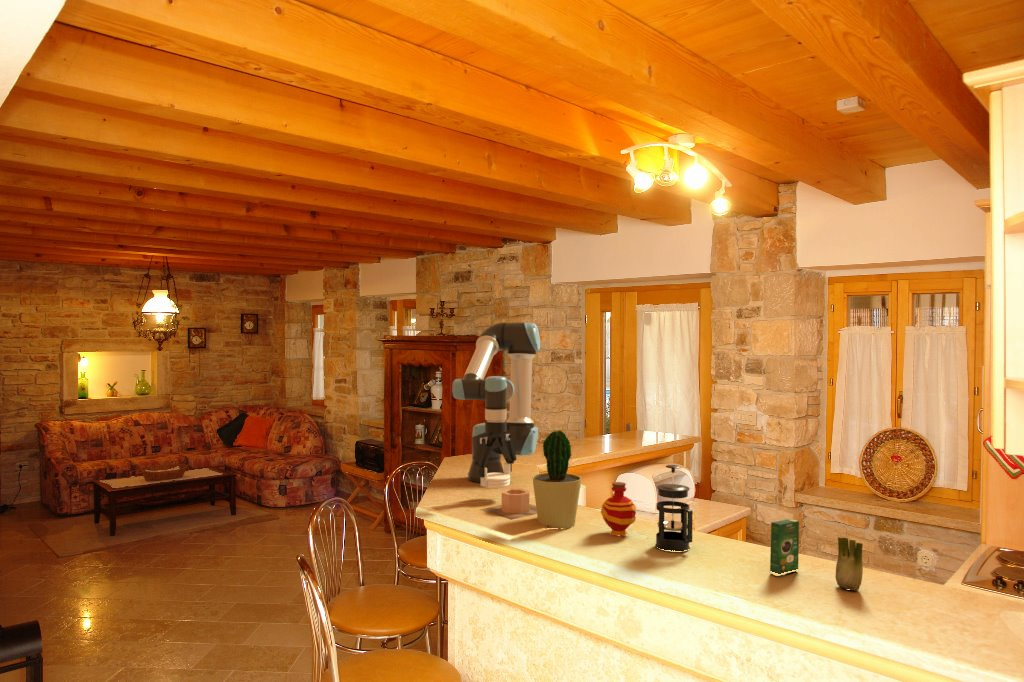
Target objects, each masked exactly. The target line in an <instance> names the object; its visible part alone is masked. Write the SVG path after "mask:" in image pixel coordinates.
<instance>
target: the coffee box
mask: <svg viewBox="0 0 1024 682" xmlns="http://www.w3.org/2000/svg"><path fill="white" fill-rule="evenodd" d="M799 540H800V521H799V520H797V519H793V518H787V519H782V520H777V521H776V520H775V521H771V522H770V561H769V562H770V563H769V564H770V565H769V572H770V571H772V572H775V573H778V574H781V573H784V572H788V571H792V570H796V569H798V570H799V552H800V550H799V545H800V544H799V542H800V541H799Z"/></svg>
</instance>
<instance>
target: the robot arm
mask: <svg viewBox="0 0 1024 682" xmlns="http://www.w3.org/2000/svg"><path fill="white" fill-rule="evenodd" d="M540 350H541V338H540V331H539V328H538V326H537V324H536V323H534V322H524V321H523V322H498V323H495V324H492V325H490V326H488V327H487V328H486V329H484V331H482V332H481V333H480V335H479V336H478V338H477V339H476V342H475V349H474V353H473V354H472V357H471V359H470V361H469V364H468V366H467V368H466V370H465V373H464V374H463V377H462V378H455V379H454V380H453V382H452V386H451V391H452V396H453V398H454V399H457V400H463V401H465V400H466V401H469V400H470V401H474V400H475V401H484V402H485V403H484V404H485V405H484V417H485V418H484V419H485V420H486V421H484V422H483V423H482V422H481V423H477V424H475V425H474V426H473V427H472V435H471V438H472V439H471V440H472V442H471V443H472V444H471V445H472V446H471V448H472V449H471V457H472V459H471V464H470V466H469V467H470V468H469V470H468V473H467V481H469V480H470V482H472V481H474V482H473V483H479V482H480V486H481V487H483V488H487V473H505V474H508V475H509V476H510V483H511V478H512V477H511V473H512V471H513V470H512V469H513V468H512V467H513V465H512V464H514V463H515V461H517V456H522V457H523V456H532V455H533V454H534V453H535V451H536V448H537V445H538V444H537V443H538V439H539V438H538V437H539V428H538V426H535V421H534V420H533V419H532V418H531V417H532V416H531V410H532V383H533V382H532V381H533V380H532V378H533V377H532V375H533V373H532V372H533V359H534V358H535V357H537V352H539V351H540ZM500 351H504V352H505V351H507V356H508V357H509V358H510V363H511V364H510V380H509V379H507V378H506V377H505V376H503V375H502V376H501V375H497V376H496V375H495V376H494V375H493V376H487V377H486V374H487V373H488V369H489V368H490V365H491V363H492V360H493V358H494V356H495V355H496V354H497V353H498V352H500ZM508 400H509V418H507V417H508V416H507V415H508V414H507V402H508ZM501 455H502V457H503V458H504V461H505V462H503V464H502V461H501V459H502V457H501Z"/></svg>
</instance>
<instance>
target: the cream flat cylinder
mask: <svg viewBox="0 0 1024 682" xmlns="http://www.w3.org/2000/svg"><path fill="white" fill-rule="evenodd" d="M510 484H511V482H510V476H509V475H508V474H505V473H487V487H486V488H489V489H503V488H508V487H510Z"/></svg>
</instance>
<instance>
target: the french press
mask: <svg viewBox="0 0 1024 682" xmlns="http://www.w3.org/2000/svg"><path fill="white" fill-rule="evenodd" d="M665 468H667V469H671V471H670V472H671V475H672V483H664V484H663V483H662V484H661V483H660V484H658V485H656V489H657V494H658V496H660V497H661V498H662V497H663V498H667V499H672V500H662V501H658V502H657V503H656V505H655V506H656V510H657V511H658V522H657V527H658V532H657V533H656V535H655V537H656V538H655V546H656V547H658V548H660V549H664V550H671V551H672V550H673V551H674V550H675V551H684V550H688V549H691V547H690V543H693V525H694V524H693V519H694V518H693V509H690V504H688V503H686V502H682V501H676V500H674V499H684V498H688V497H689V496H688V495H689V491H690V487H689V486H687V485H683V484H674V483H675V482H674V481H675V480H674V479H675V478H674V477H675V472H676V471H675V470H677V469H681V468H682V467H681V466H680V465H677V464H666V465H665ZM665 506H666V507H665ZM668 506H671V508H670V507H668ZM674 507H680V508H674ZM665 513H666V514H671V520H665ZM674 514H679V515H680V521H677V520H674ZM665 530H666V531H665ZM656 547H655V548H656Z"/></svg>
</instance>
